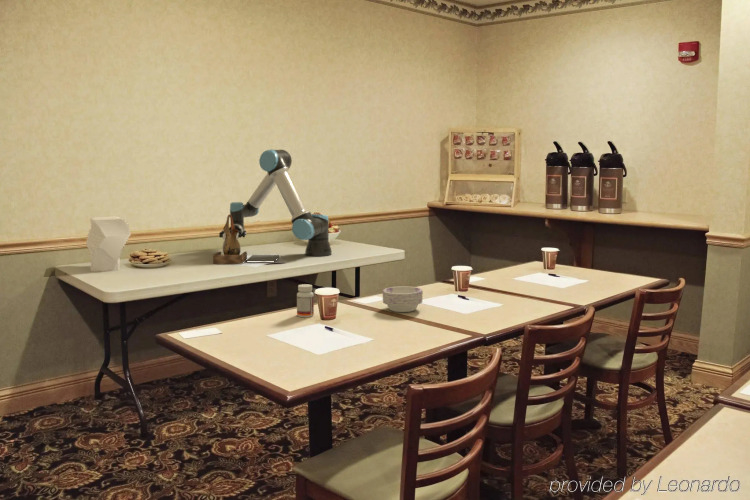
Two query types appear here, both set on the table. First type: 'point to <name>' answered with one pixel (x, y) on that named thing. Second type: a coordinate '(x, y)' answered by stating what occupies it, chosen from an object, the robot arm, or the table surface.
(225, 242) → the ceramic vessel
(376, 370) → the table surface
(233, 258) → the holder
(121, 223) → the white faceted vase
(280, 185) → the robot arm
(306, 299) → the pill bottle
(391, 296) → the paper bowls
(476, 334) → the table surface
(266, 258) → the mat
